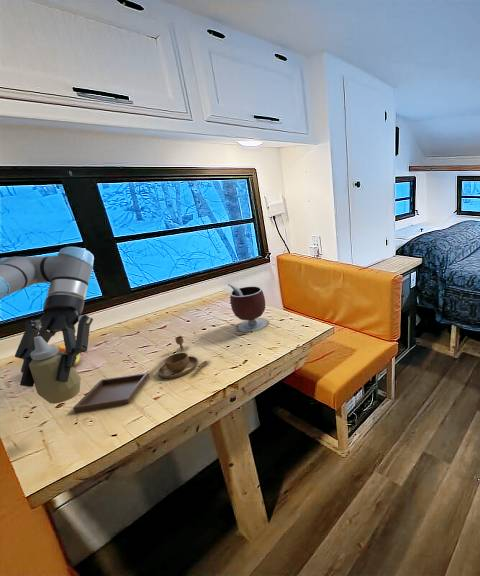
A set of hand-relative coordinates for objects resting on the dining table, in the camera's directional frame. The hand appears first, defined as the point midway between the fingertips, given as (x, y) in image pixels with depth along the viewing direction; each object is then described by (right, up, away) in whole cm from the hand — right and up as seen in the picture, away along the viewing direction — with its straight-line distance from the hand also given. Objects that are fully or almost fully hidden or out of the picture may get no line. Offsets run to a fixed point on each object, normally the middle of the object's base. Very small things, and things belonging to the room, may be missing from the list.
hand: (44, 383), depth 75 cm
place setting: (+12, -4, +36) cm, 38 cm away
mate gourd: (+24, +6, +63) cm, 68 cm away
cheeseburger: (-33, -5, +36) cm, 49 cm away
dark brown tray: (-1, -10, +21) cm, 23 cm away
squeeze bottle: (-1, -5, +6) cm, 8 cm away
